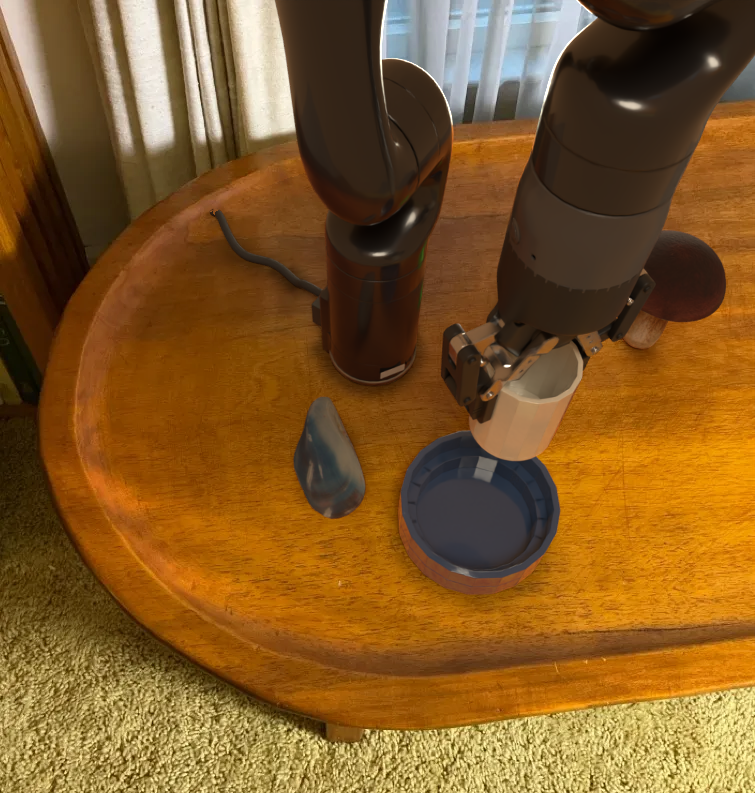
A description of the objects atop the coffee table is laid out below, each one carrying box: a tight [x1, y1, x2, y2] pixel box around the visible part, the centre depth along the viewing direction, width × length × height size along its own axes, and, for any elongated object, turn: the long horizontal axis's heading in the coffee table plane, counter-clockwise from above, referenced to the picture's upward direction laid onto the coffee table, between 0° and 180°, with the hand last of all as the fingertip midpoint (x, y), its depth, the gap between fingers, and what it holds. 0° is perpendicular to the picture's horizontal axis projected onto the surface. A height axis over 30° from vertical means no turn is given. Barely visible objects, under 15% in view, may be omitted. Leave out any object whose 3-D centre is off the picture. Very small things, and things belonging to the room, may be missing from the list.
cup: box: [468, 340, 584, 461], centre depth 54 cm, size 6×6×8 cm
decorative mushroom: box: [622, 229, 727, 350], centre depth 78 cm, size 11×11×15 cm
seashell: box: [293, 396, 366, 520], centre depth 73 cm, size 6×9×10 cm
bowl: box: [397, 430, 561, 596], centre depth 70 cm, size 14×14×6 cm
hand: (521, 392), depth 54 cm, fingers closed on cup, 6 cm apart
